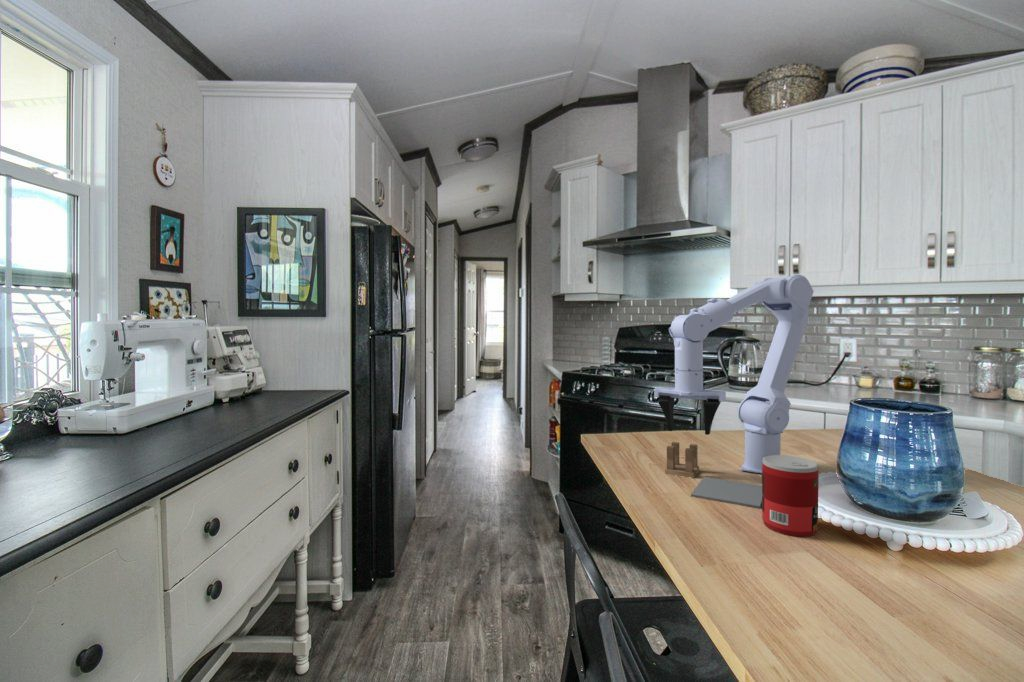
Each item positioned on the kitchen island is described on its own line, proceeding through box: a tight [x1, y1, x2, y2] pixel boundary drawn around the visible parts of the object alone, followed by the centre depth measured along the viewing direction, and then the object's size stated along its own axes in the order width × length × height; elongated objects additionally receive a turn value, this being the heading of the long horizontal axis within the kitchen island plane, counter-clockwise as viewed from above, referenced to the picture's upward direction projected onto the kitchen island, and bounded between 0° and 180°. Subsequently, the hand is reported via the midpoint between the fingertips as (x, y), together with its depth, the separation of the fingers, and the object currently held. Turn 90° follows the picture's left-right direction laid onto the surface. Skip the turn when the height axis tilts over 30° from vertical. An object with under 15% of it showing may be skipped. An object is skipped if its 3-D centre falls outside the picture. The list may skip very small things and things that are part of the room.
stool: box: [664, 441, 700, 479], centre depth 107 cm, size 6×6×6 cm
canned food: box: [761, 454, 820, 537], centre depth 79 cm, size 8×8×11 cm
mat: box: [690, 476, 762, 509], centre depth 95 cm, size 12×12×1 cm
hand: (689, 431), depth 104 cm, fingers open, 7 cm apart
